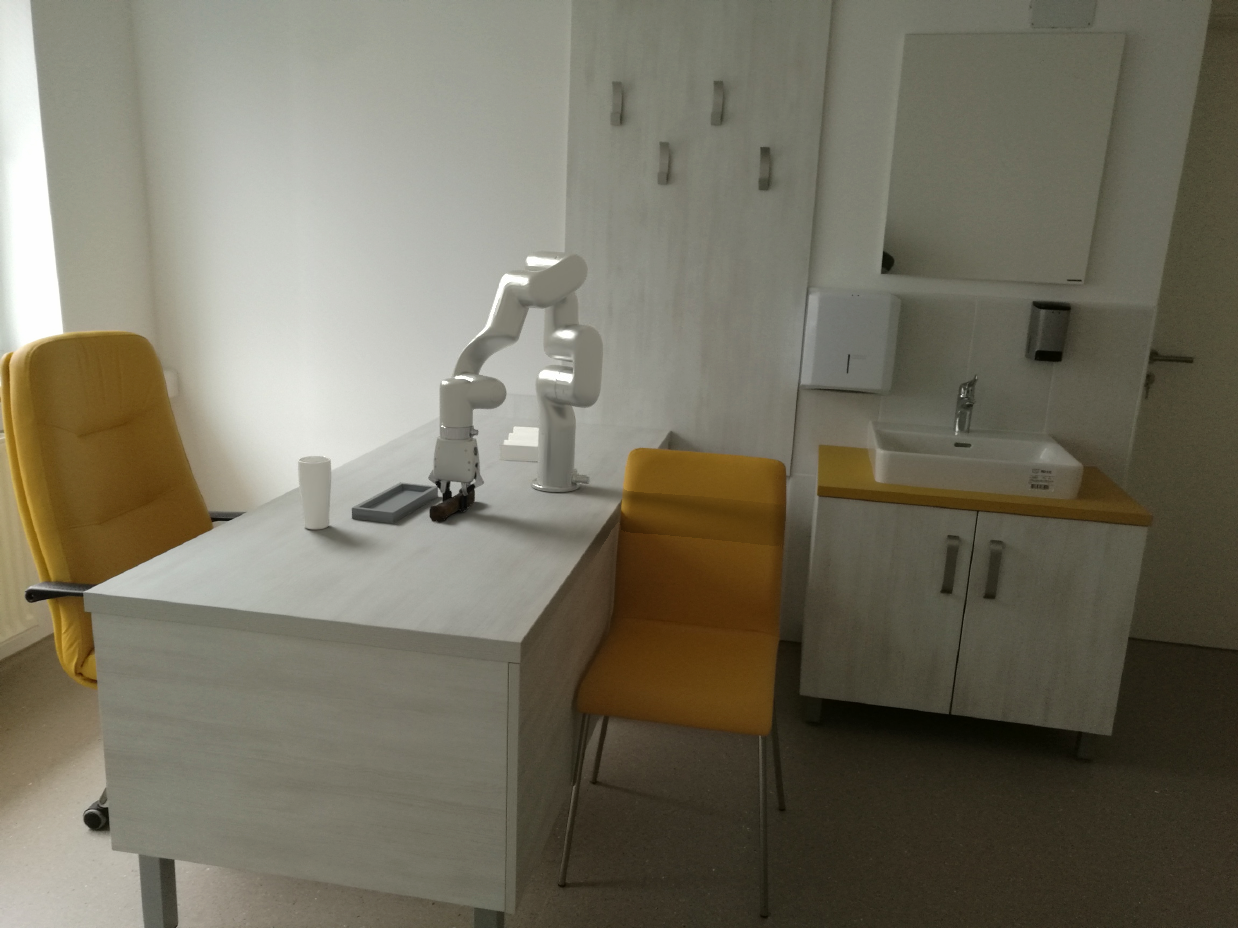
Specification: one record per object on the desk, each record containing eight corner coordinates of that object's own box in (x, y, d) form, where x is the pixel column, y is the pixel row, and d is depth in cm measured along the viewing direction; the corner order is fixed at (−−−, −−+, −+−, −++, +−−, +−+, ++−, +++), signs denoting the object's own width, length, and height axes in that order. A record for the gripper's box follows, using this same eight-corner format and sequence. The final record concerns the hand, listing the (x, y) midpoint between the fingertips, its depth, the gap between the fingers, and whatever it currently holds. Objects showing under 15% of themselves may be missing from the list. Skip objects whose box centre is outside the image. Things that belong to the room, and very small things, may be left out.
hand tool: (444, 523, 209) (444, 503, 208) (428, 521, 211) (428, 501, 209) (484, 503, 227) (484, 484, 226) (469, 501, 228) (470, 482, 227)
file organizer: (556, 439, 304) (556, 423, 303) (544, 464, 270) (544, 446, 269) (515, 437, 304) (516, 421, 303) (499, 462, 270) (499, 444, 269)
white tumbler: (303, 532, 198) (300, 464, 195) (297, 523, 204) (295, 457, 201) (335, 529, 201) (333, 461, 198) (329, 520, 207) (327, 454, 204)
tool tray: (437, 496, 230) (437, 486, 230) (393, 523, 207) (392, 512, 207) (400, 492, 232) (400, 482, 232) (351, 518, 210) (351, 507, 209)
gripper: (496, 432, 216) (494, 509, 220) (429, 426, 220) (429, 501, 224) (484, 439, 209) (483, 517, 213) (415, 432, 213) (416, 510, 217)
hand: (455, 508), depth 219 cm, fingers closed on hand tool, 3 cm apart
